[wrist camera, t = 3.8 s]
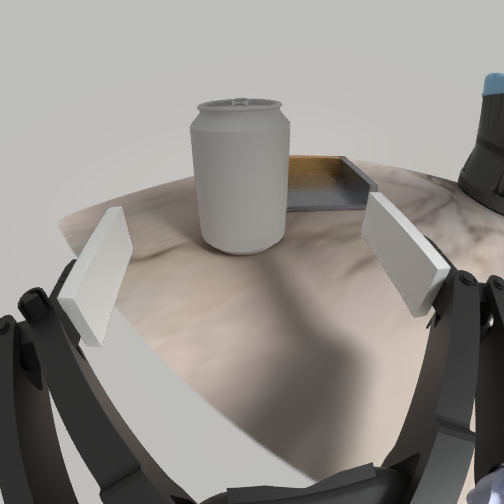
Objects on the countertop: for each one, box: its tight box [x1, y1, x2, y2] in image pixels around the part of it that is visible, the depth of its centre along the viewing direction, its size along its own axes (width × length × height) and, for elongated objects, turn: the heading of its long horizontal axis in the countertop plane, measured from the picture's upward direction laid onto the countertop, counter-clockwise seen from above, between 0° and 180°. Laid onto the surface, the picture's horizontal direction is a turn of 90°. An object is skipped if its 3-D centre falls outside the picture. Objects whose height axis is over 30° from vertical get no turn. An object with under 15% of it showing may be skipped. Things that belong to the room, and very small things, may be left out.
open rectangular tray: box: [286, 155, 378, 212], centre depth 33 cm, size 12×10×3 cm
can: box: [190, 98, 290, 255], centre depth 22 cm, size 8×8×12 cm
